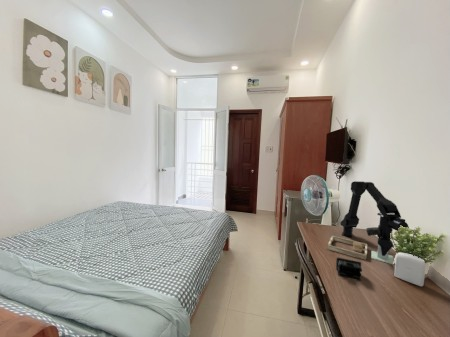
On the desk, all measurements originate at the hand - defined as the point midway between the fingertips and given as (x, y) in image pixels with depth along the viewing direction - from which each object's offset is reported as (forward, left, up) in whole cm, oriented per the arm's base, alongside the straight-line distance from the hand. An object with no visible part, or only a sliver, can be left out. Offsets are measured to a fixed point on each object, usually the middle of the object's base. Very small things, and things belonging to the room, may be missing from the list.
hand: (382, 252), depth 115 cm
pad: (0, 0, -3) cm, 3 cm away
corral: (0, -17, -3) cm, 17 cm away
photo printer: (+18, +9, -3) cm, 20 cm away
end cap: (+30, -14, -4) cm, 33 cm away
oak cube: (-2, -12, -3) cm, 13 cm away
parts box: (0, 0, -3) cm, 3 cm away
